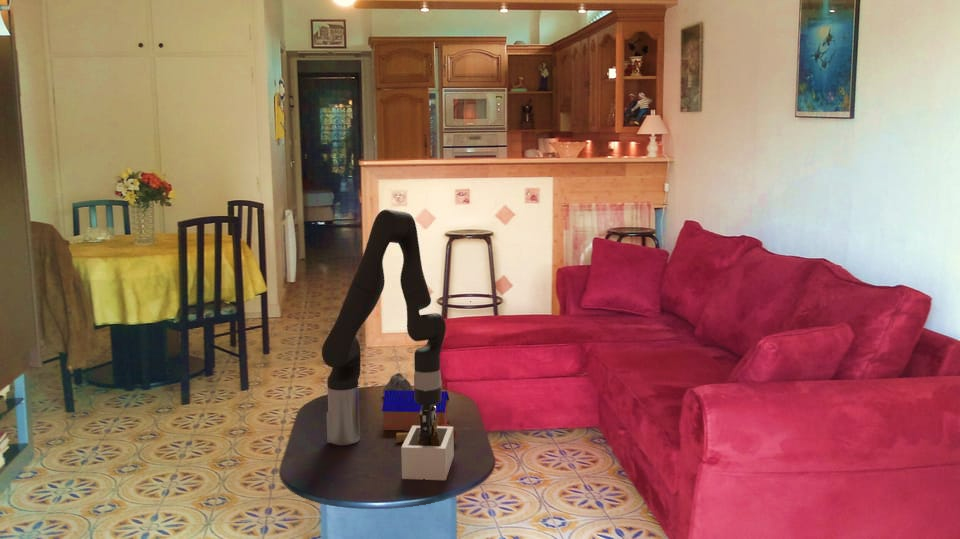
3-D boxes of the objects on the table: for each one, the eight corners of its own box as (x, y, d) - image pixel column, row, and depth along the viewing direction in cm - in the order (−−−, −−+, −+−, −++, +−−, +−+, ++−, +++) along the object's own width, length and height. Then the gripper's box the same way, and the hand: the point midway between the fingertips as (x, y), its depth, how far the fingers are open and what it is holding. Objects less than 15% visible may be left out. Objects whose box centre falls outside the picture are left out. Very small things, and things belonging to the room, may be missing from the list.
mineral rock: (382, 394, 300) (381, 367, 299) (412, 393, 302) (411, 366, 301) (384, 406, 288) (383, 378, 286) (415, 404, 290) (415, 376, 288)
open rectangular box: (402, 478, 227) (401, 447, 226) (413, 454, 244) (412, 425, 243) (445, 480, 226) (445, 448, 225) (453, 456, 243) (453, 426, 241)
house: (445, 432, 262) (444, 397, 261) (382, 431, 264) (381, 395, 262) (449, 419, 274) (449, 385, 272) (389, 418, 276) (388, 384, 274)
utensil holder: (427, 451, 239) (426, 410, 237) (444, 455, 235) (443, 415, 233) (413, 457, 234) (412, 416, 232) (431, 462, 231) (430, 421, 229)
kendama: (395, 452, 250) (455, 445, 248) (393, 431, 250) (452, 424, 248) (400, 447, 258) (458, 440, 256) (398, 426, 258) (455, 420, 256)
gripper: (418, 377, 239) (419, 433, 241) (409, 392, 225) (411, 452, 227) (444, 377, 238) (445, 434, 241) (437, 393, 224) (438, 453, 227)
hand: (428, 442), depth 234 cm, fingers closed on utensil holder, 5 cm apart
